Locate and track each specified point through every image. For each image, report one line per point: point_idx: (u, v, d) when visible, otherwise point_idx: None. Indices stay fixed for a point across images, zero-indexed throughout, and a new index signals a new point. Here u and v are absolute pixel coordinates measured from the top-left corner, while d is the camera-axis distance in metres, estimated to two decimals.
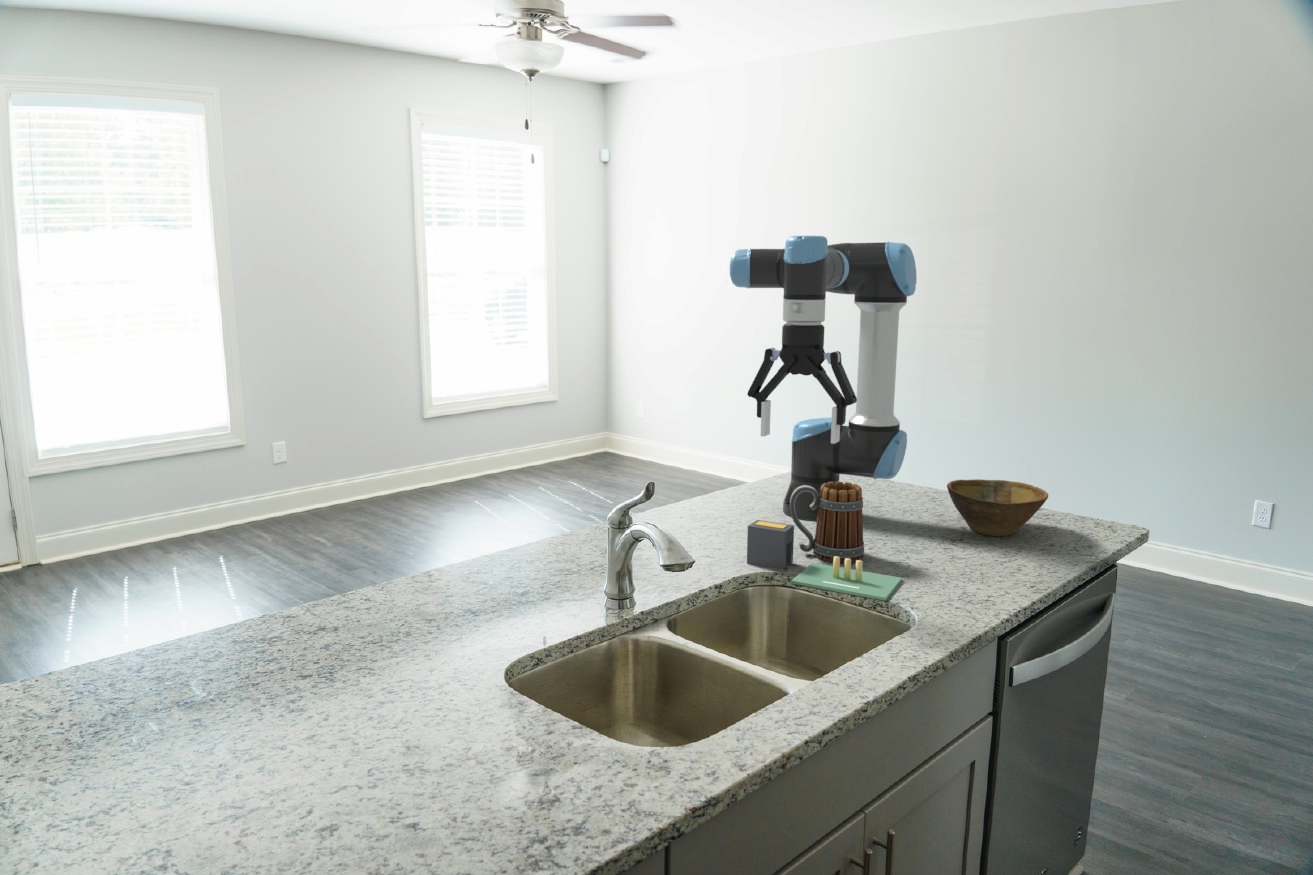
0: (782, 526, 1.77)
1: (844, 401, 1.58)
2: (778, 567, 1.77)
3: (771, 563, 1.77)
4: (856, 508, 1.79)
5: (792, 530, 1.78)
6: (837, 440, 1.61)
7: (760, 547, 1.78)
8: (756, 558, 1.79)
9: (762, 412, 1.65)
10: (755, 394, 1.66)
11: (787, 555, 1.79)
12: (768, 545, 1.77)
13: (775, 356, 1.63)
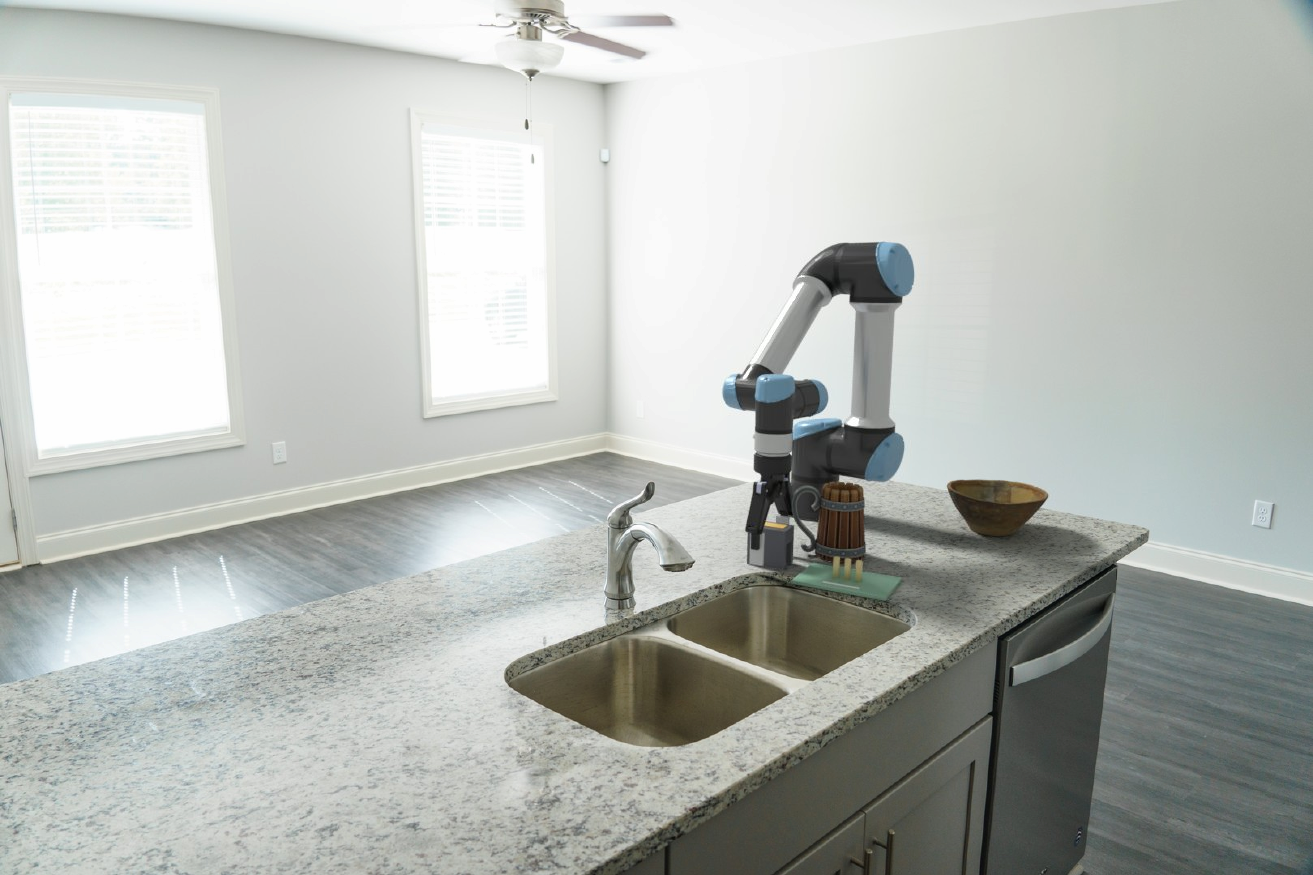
0: (782, 526, 1.77)
1: None
2: (778, 567, 1.77)
3: (771, 563, 1.77)
4: (858, 508, 1.79)
5: (792, 530, 1.78)
6: (756, 563, 1.73)
7: None
8: None
9: None
10: None
11: (787, 555, 1.79)
12: (768, 545, 1.77)
13: None
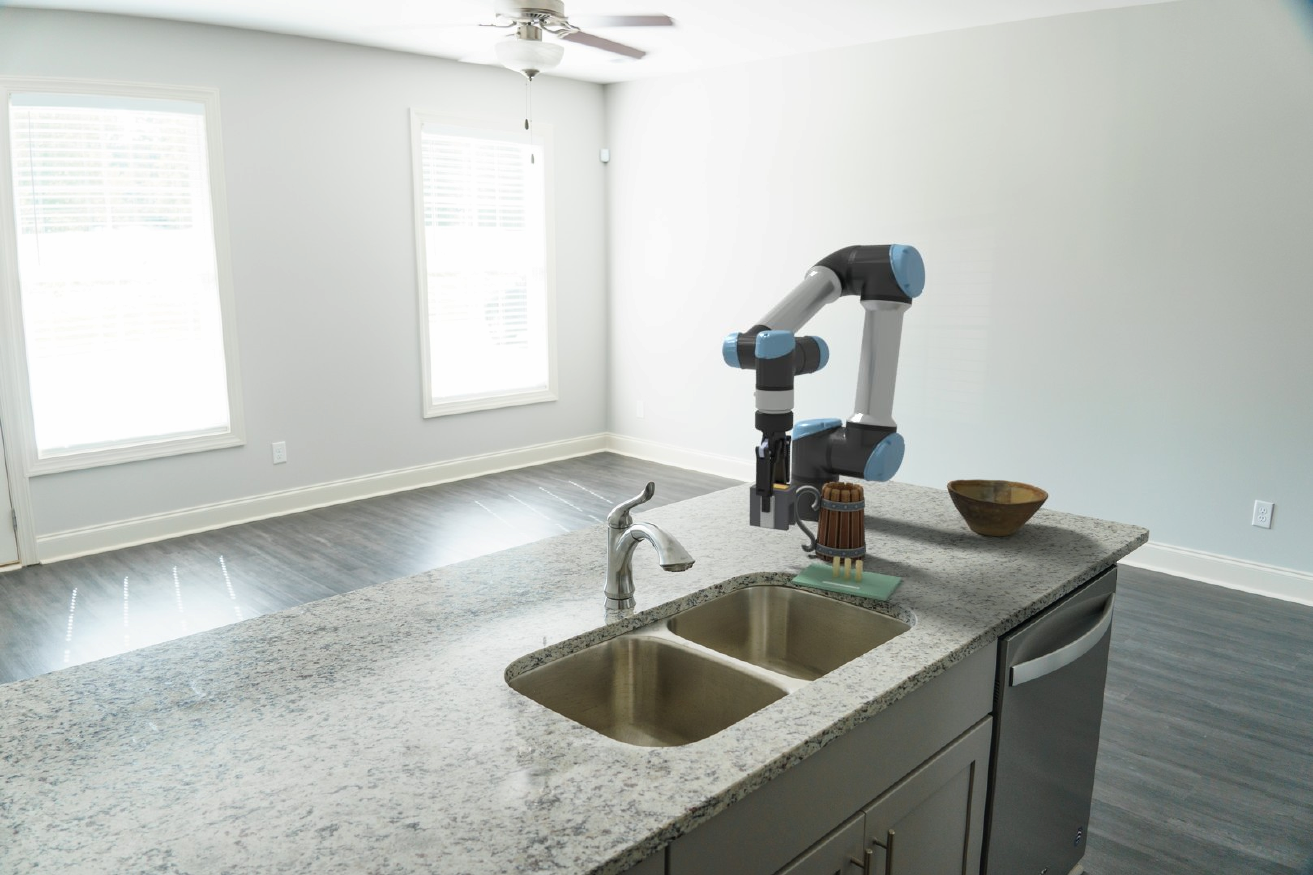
0: (784, 487, 1.76)
1: None
2: (781, 528, 1.75)
3: (774, 524, 1.76)
4: (858, 508, 1.79)
5: (794, 490, 1.77)
6: (767, 526, 1.76)
7: None
8: (759, 519, 1.78)
9: None
10: None
11: (790, 516, 1.78)
12: None
13: None
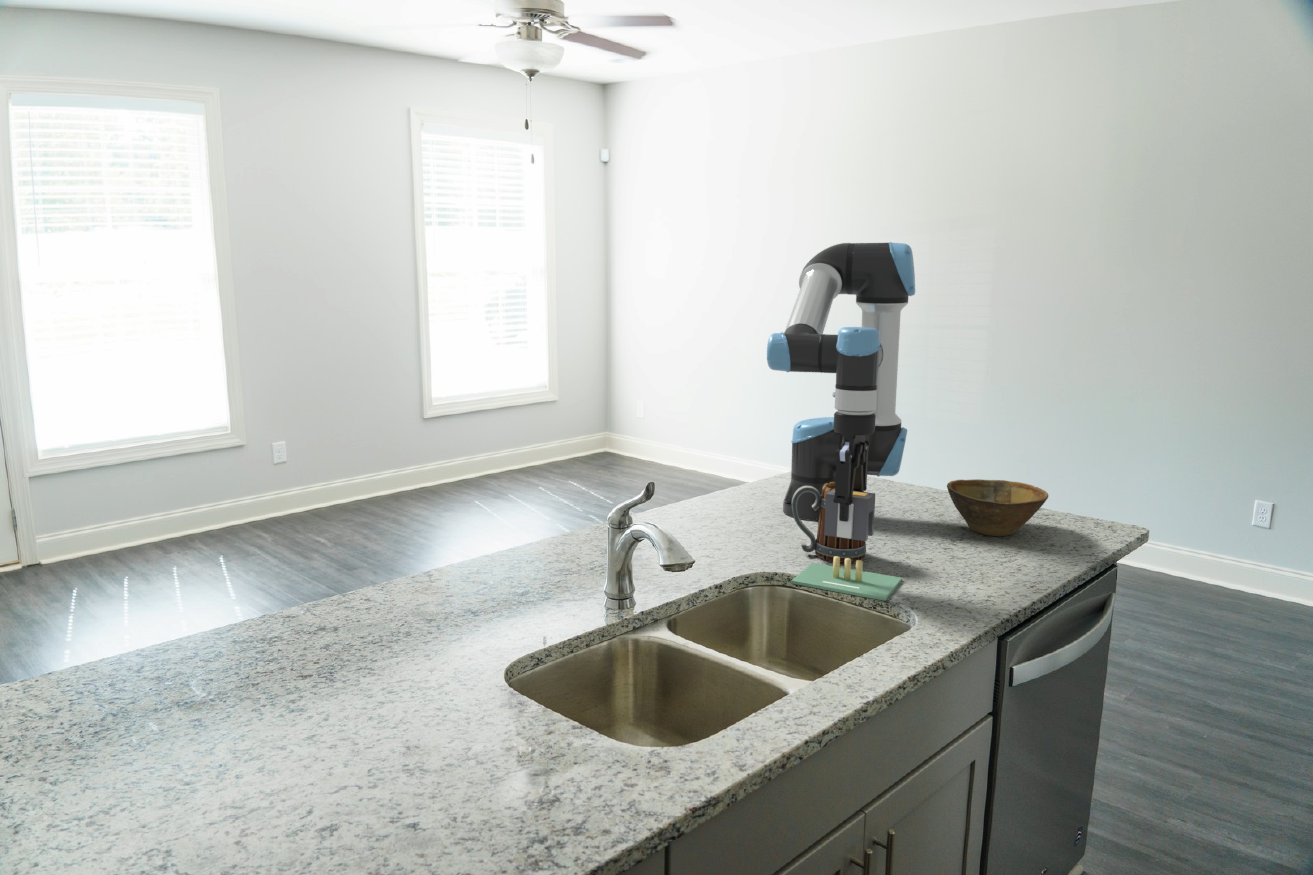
0: (863, 494, 1.65)
1: None
2: (859, 538, 1.64)
3: None
4: None
5: (873, 498, 1.66)
6: (845, 536, 1.64)
7: None
8: (835, 529, 1.66)
9: None
10: None
11: (868, 526, 1.67)
12: None
13: None
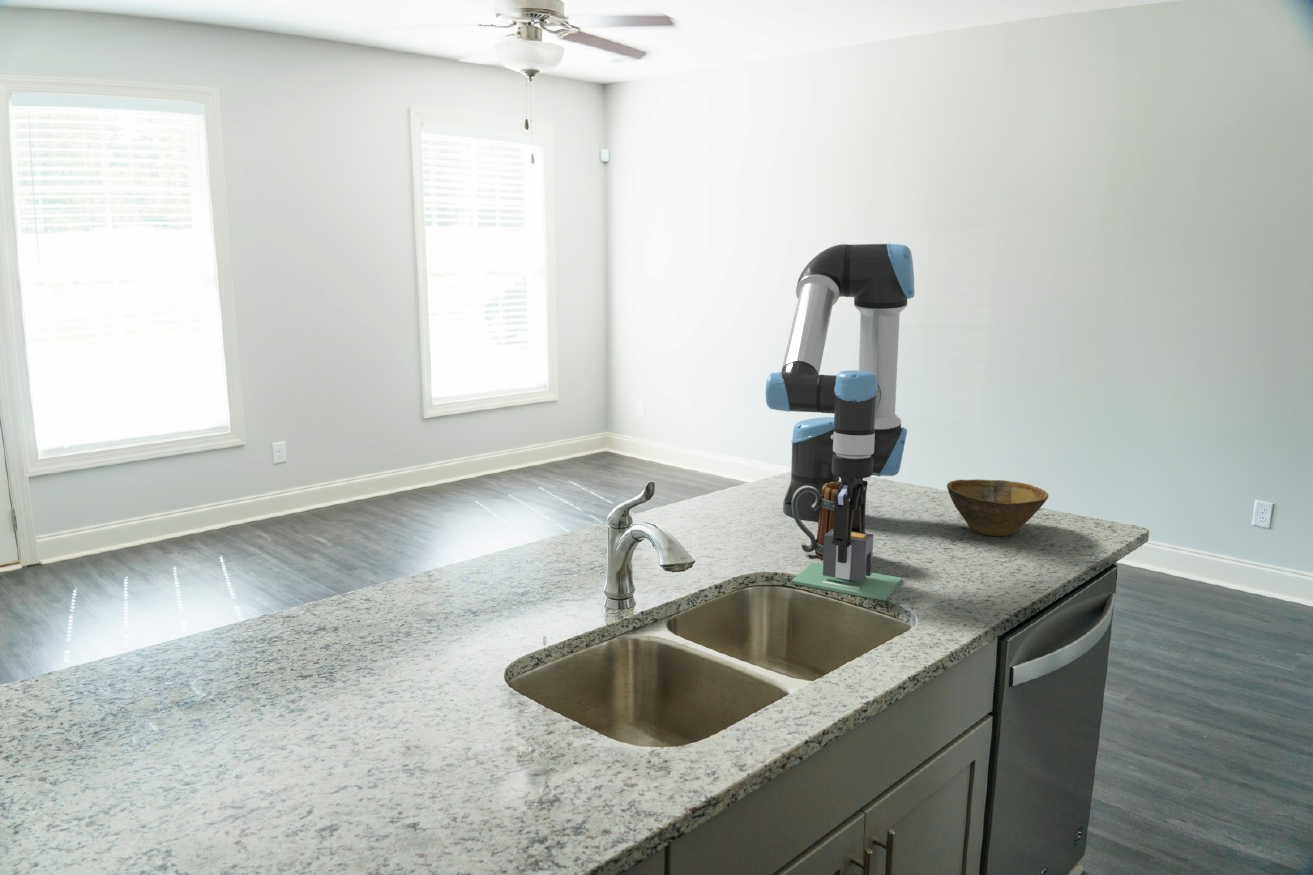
0: (861, 535, 1.66)
1: None
2: (858, 579, 1.66)
3: (850, 575, 1.66)
4: None
5: (871, 539, 1.67)
6: (843, 577, 1.66)
7: None
8: (833, 569, 1.68)
9: None
10: None
11: (866, 566, 1.68)
12: None
13: None
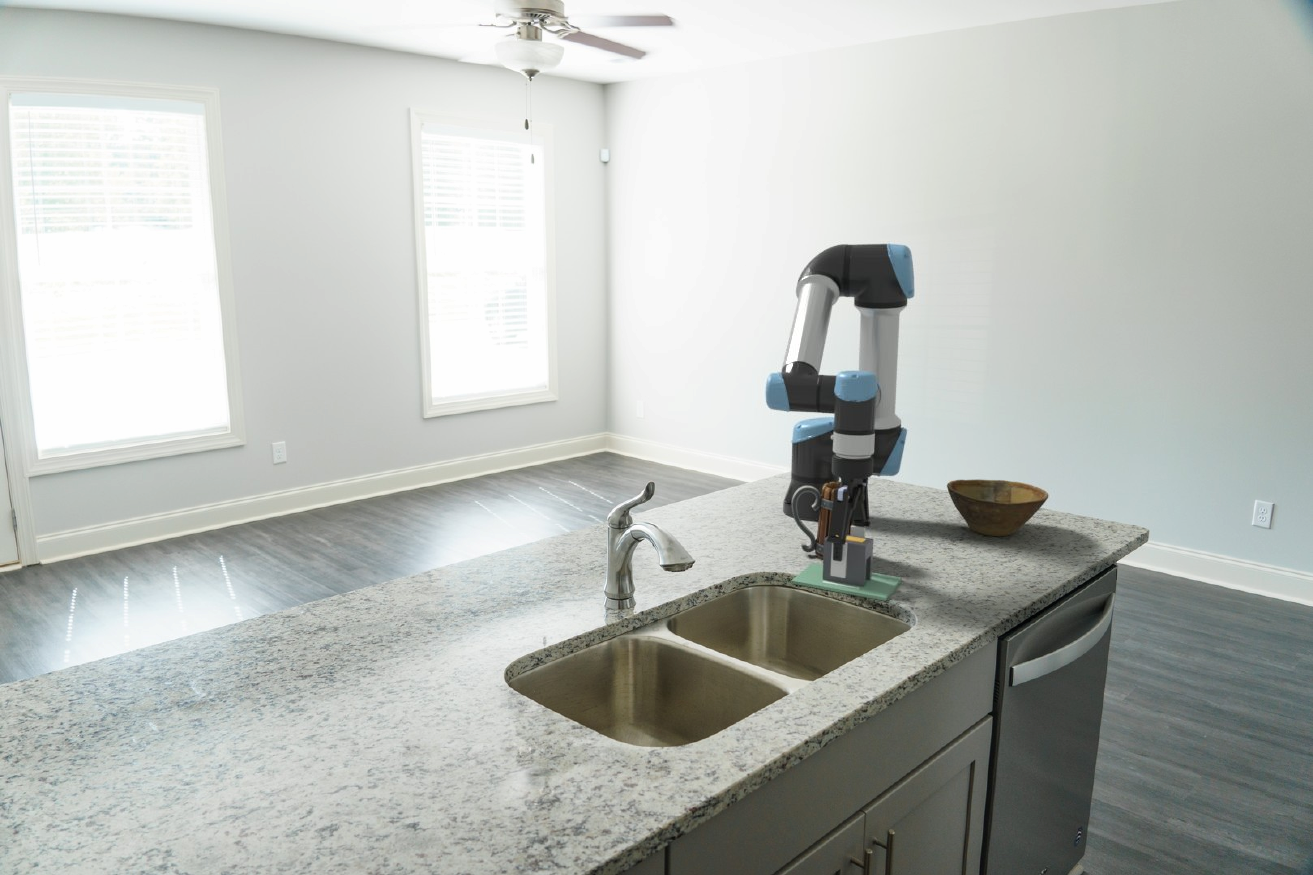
0: (861, 540, 1.67)
1: None
2: (857, 583, 1.66)
3: (849, 580, 1.66)
4: None
5: (871, 544, 1.67)
6: (838, 575, 1.63)
7: None
8: None
9: None
10: None
11: (866, 570, 1.69)
12: (847, 560, 1.66)
13: None
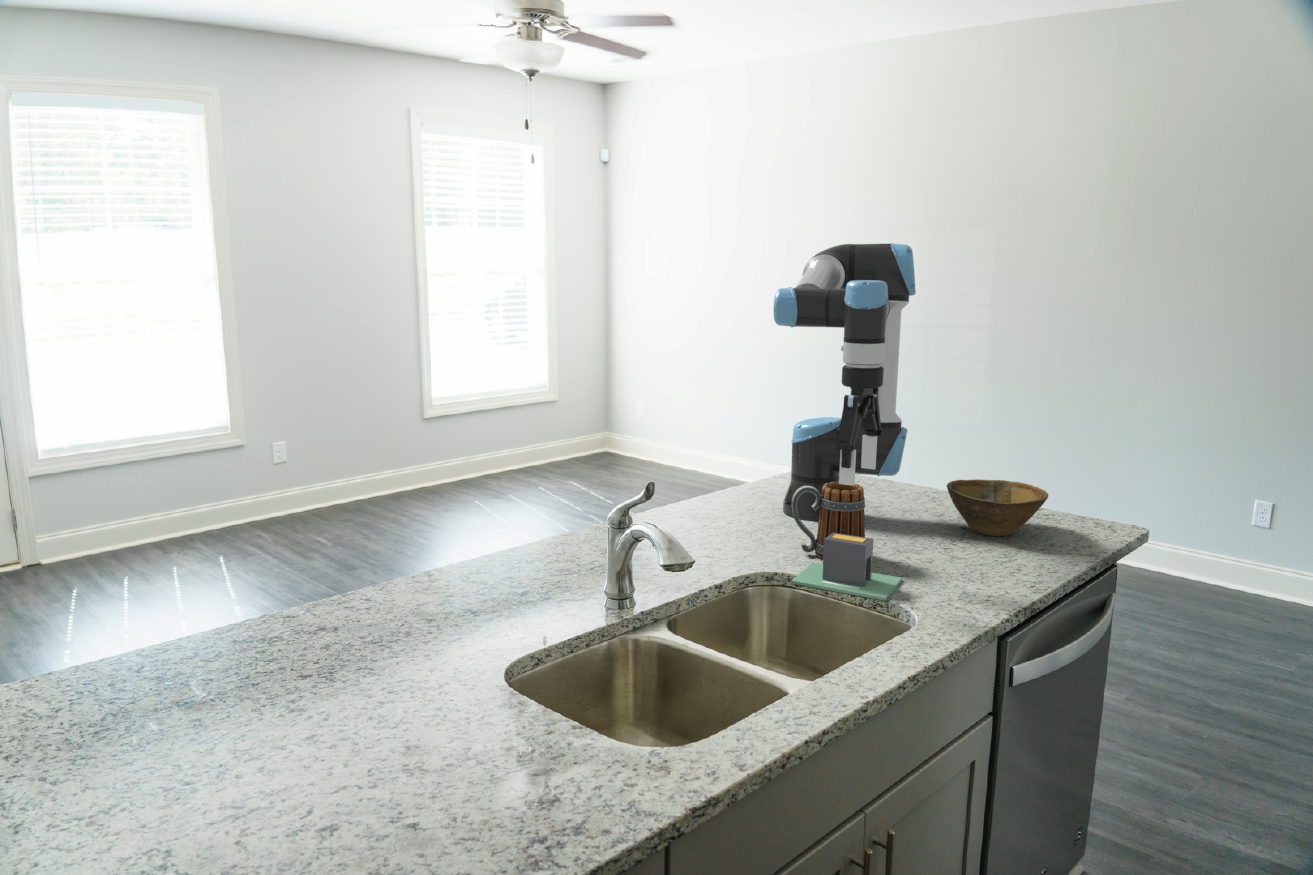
0: (861, 540, 1.67)
1: None
2: (857, 583, 1.66)
3: (849, 580, 1.66)
4: (858, 508, 1.79)
5: (871, 544, 1.67)
6: (847, 483, 1.62)
7: (837, 562, 1.67)
8: (833, 573, 1.68)
9: None
10: None
11: (866, 570, 1.69)
12: (847, 560, 1.66)
13: None
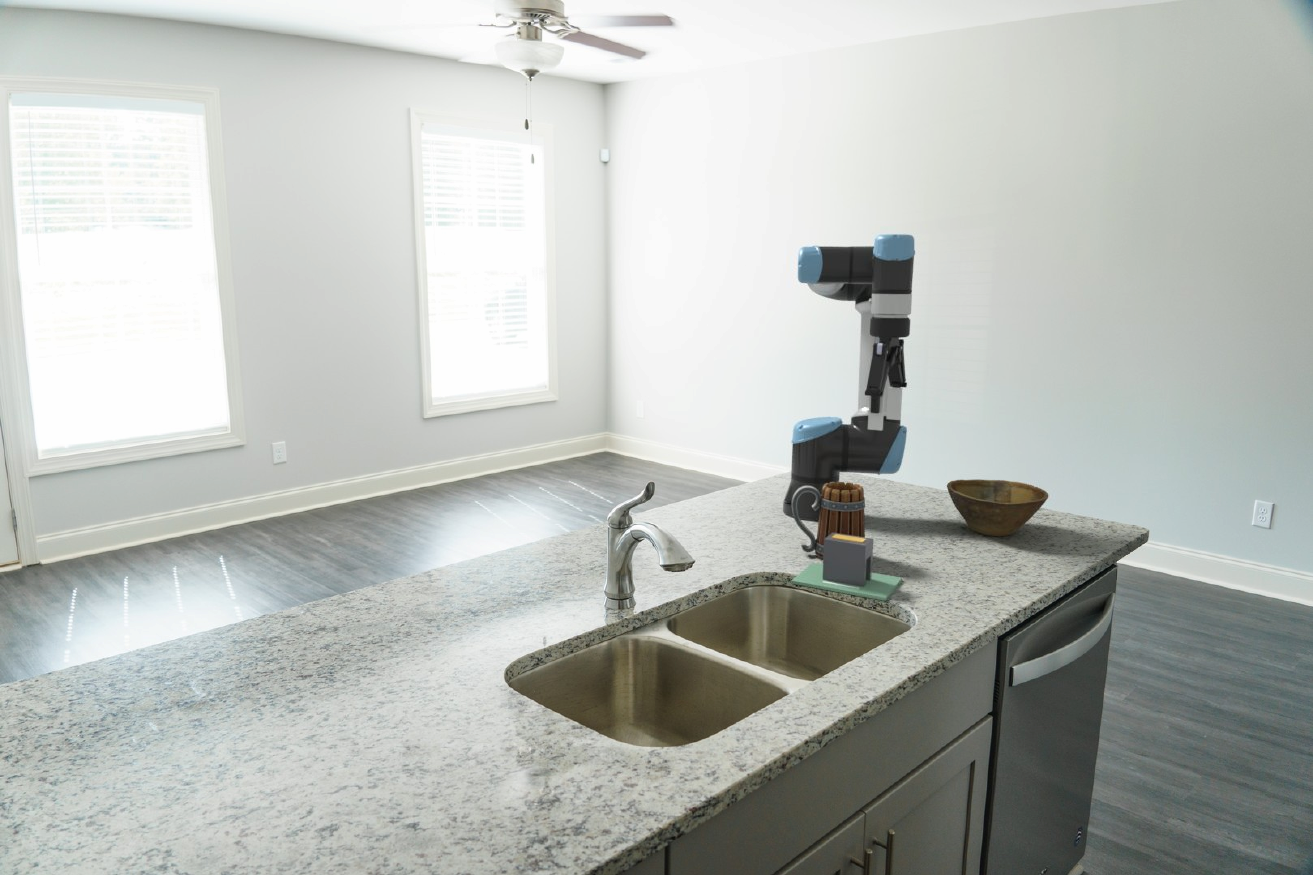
0: (861, 540, 1.67)
1: None
2: (857, 583, 1.66)
3: (849, 580, 1.66)
4: (858, 508, 1.79)
5: (871, 544, 1.67)
6: (876, 428, 1.69)
7: (837, 562, 1.67)
8: (833, 573, 1.68)
9: None
10: None
11: (866, 570, 1.69)
12: (847, 560, 1.66)
13: None
